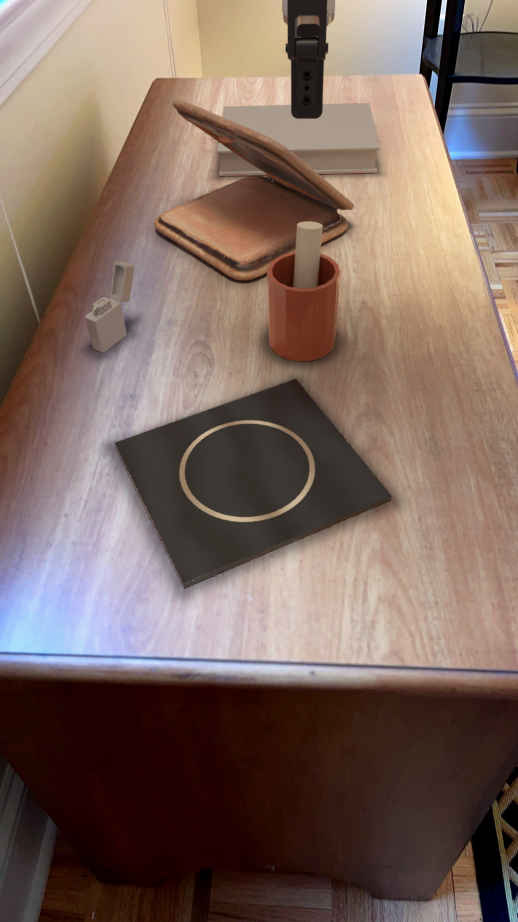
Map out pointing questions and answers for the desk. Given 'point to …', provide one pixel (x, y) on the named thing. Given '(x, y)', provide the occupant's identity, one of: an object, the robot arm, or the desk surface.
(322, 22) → the robot arm
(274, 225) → the case
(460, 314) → the desk surface
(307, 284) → the cylinder
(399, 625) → the desk surface
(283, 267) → the pen cup
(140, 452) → the black flat square pad
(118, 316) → the lighter
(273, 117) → the book
